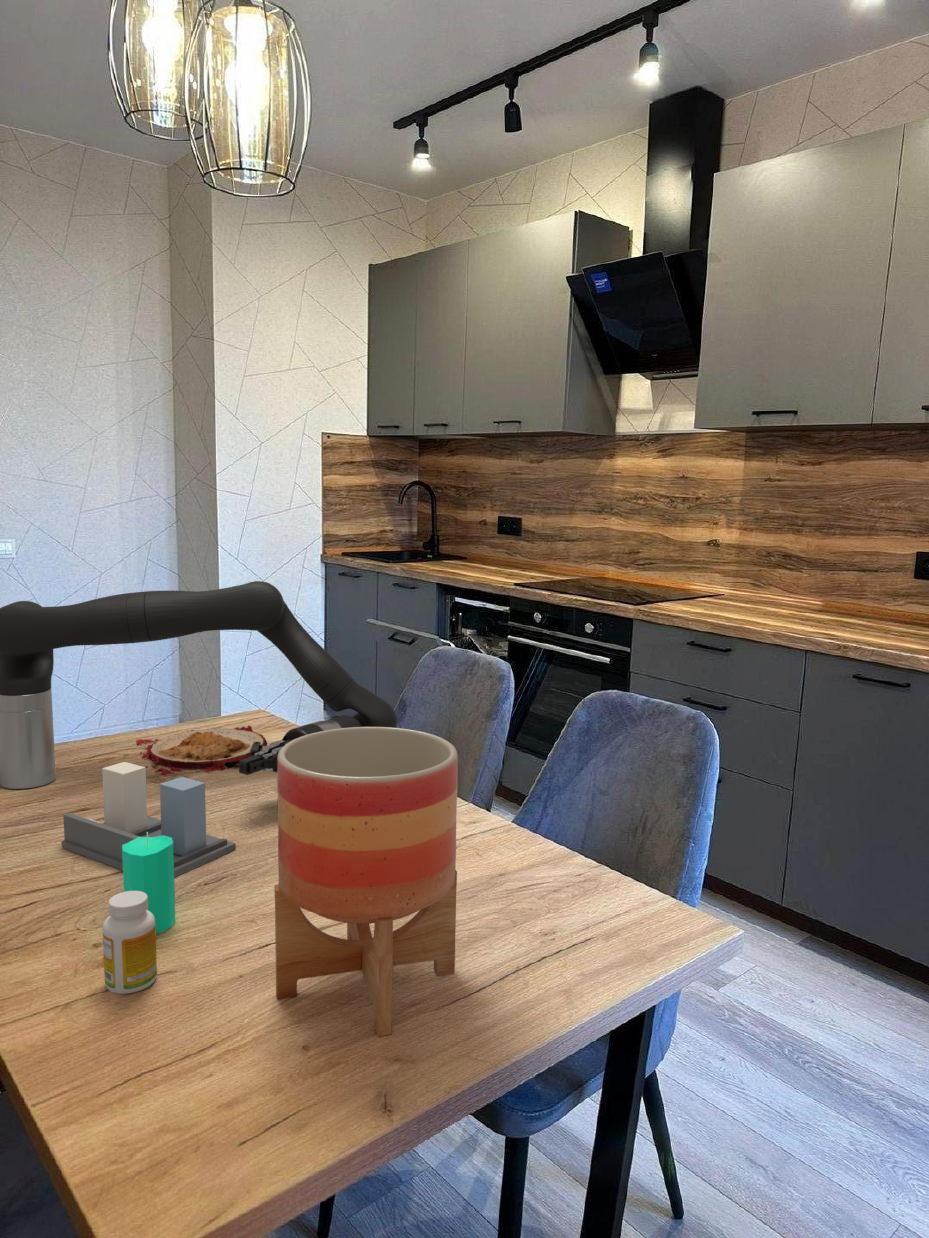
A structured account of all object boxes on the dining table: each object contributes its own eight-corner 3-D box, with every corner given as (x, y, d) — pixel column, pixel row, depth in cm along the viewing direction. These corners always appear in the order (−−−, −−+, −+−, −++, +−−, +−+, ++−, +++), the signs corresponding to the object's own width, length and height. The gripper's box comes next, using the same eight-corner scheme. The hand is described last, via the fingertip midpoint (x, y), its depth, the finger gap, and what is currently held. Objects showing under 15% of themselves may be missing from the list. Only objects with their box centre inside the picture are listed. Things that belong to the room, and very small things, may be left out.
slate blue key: (161, 849, 126) (159, 784, 125) (183, 840, 130) (181, 776, 128) (185, 856, 124) (183, 790, 122) (206, 847, 127) (205, 783, 126)
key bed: (61, 847, 129) (60, 815, 128) (139, 818, 141) (138, 789, 140) (159, 883, 118) (158, 849, 117) (235, 849, 130) (235, 818, 129)
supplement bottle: (165, 969, 97) (163, 888, 95) (143, 997, 91) (140, 911, 90) (120, 966, 97) (116, 885, 96) (95, 993, 92) (91, 908, 90)
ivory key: (104, 830, 133) (102, 768, 131) (126, 822, 136) (124, 761, 135) (125, 837, 130) (123, 774, 129) (147, 828, 134) (145, 767, 132)
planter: (479, 1021, 88) (485, 771, 85) (283, 1053, 83) (281, 786, 79) (431, 928, 107) (435, 720, 103) (269, 948, 102) (267, 729, 98)
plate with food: (251, 734, 195) (250, 718, 194) (279, 764, 171) (279, 747, 171) (136, 747, 184) (135, 731, 184) (149, 781, 160) (148, 763, 160)
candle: (185, 916, 109) (183, 827, 107) (153, 939, 103) (151, 844, 101) (146, 908, 111) (143, 820, 109) (113, 930, 105) (110, 837, 103)
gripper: (287, 717, 155) (213, 738, 140) (343, 729, 148) (272, 753, 133) (286, 757, 156) (213, 782, 141) (343, 771, 149) (272, 799, 134)
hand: (242, 768), depth 137 cm, fingers closed
